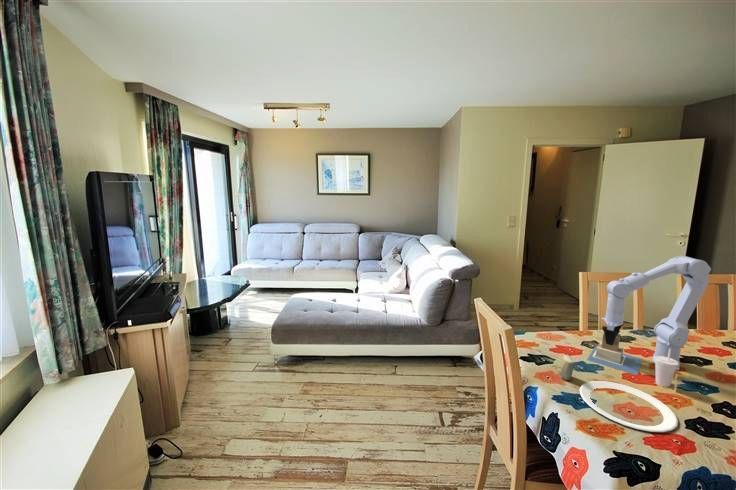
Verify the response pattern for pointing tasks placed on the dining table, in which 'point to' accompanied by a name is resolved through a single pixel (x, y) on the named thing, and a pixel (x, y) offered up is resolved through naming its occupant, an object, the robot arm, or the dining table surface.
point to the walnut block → (611, 347)
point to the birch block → (609, 354)
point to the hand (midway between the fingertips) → (611, 341)
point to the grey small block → (565, 368)
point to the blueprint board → (626, 364)
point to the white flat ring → (669, 417)
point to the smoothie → (665, 369)
